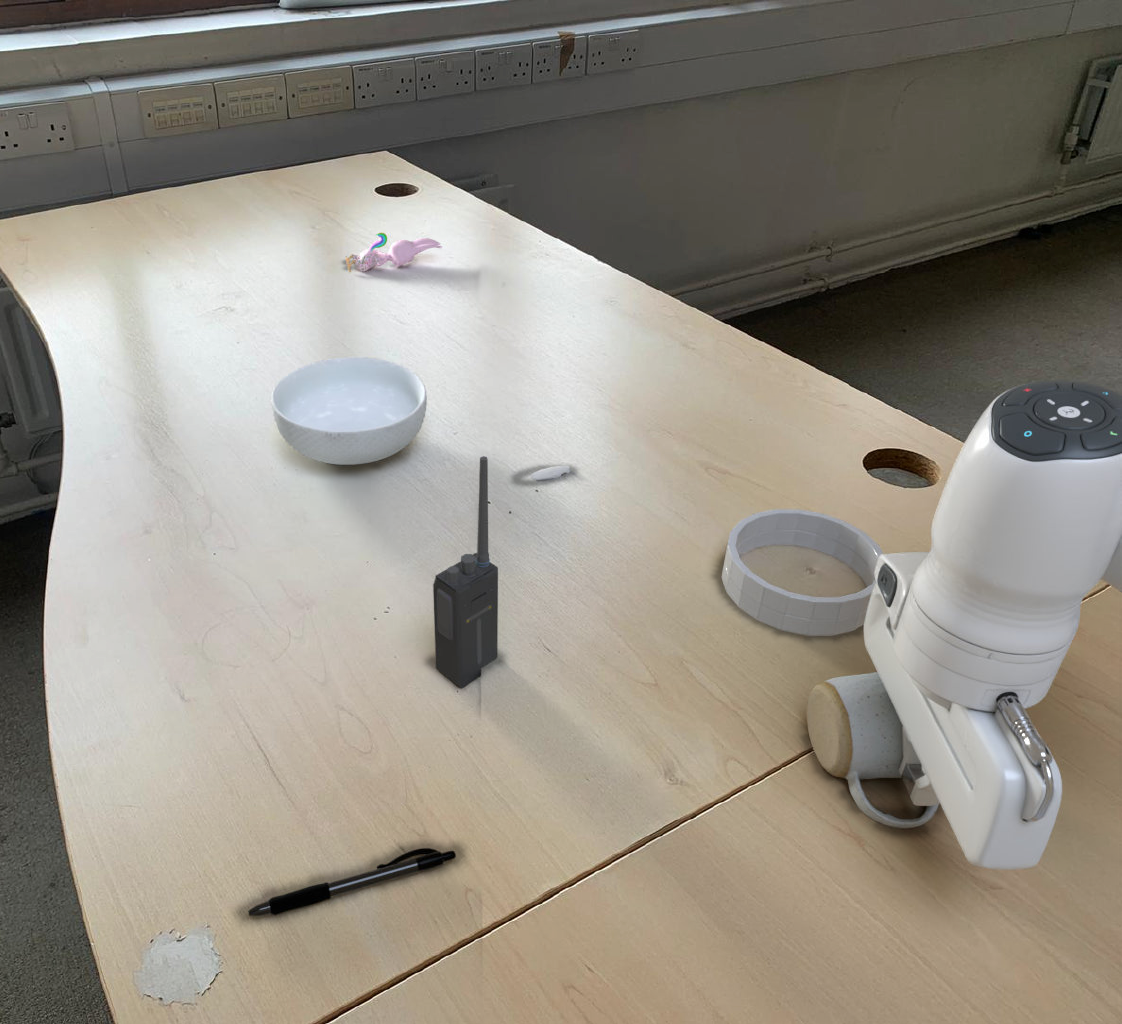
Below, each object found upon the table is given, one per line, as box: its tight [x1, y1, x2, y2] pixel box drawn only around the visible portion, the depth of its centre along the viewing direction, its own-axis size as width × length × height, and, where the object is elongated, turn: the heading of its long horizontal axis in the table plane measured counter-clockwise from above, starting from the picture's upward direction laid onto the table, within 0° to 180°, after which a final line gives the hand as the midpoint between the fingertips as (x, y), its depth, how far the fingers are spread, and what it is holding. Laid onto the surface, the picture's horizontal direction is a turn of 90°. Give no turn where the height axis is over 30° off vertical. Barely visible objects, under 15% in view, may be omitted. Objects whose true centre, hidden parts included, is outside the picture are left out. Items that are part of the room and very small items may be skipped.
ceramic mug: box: [806, 671, 940, 829], centre depth 70 cm, size 11×8×8 cm
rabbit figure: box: [345, 232, 443, 274], centre depth 154 cm, size 6×6×15 cm
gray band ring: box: [721, 508, 885, 637], centre depth 89 cm, size 13×13×4 cm
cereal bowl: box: [270, 356, 428, 466], centre depth 110 cm, size 17×17×7 cm
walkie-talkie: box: [432, 456, 499, 689], centre depth 77 cm, size 5×3×20 cm
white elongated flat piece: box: [529, 464, 571, 482], centre depth 105 cm, size 6×2×1 cm, turn 105°
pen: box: [248, 847, 457, 917], centre depth 66 cm, size 14×2×1 cm, turn 108°
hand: (917, 789), depth 68 cm, fingers closed
